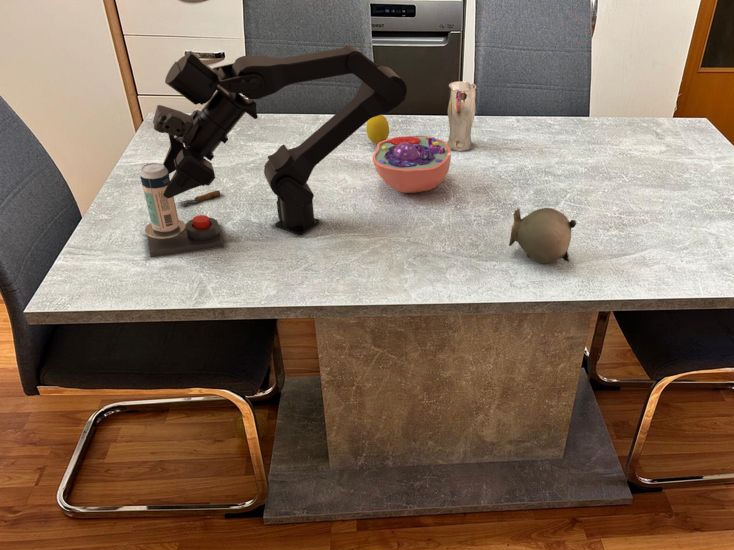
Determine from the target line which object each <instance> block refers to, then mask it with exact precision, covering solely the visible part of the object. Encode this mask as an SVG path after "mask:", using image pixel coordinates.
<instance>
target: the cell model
mask: <svg viewBox="0 0 734 550" xmlns="http://www.w3.org/2000/svg"><path fill="white" fill-rule="evenodd" d="M451 160H452V149H450V148H449V146H448V142H446V141H445V140H443V139H440V138H437V137H434V136H428V135H409V136H406V135H404V136H394V137H391V138H387V139H386V140H384V141H381V142H379V143H378V144H376V150H375V152H374V153H373V154H372V161H373V164H374V169H375V171H376V174H377V175H378V176H379V177H380V178H381V180H382V181H384V183H385V184H386V185H387V186H388V187H390V188H391V189H393V190H395V191H397V192H400V193H402V194H403V193H404V194H413V193H414V194H415V193H422V192H429V191H431V190H434V189H435V188H436V187H438V186H439V185H440V184H441V183H442V182H443V181H444V180H445V179H446V177H447V175H448V173H449V170H450V166H451Z"/></svg>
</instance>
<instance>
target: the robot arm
mask: <svg viewBox="0 0 734 550" xmlns="http://www.w3.org/2000/svg"><path fill="white" fill-rule="evenodd" d="M350 74H351V75H354V76H355V77H357V78H358V79H359V80H361V81H362V82H361V83H360V85H359V87H358V89H357V91H356V94H355V95H354V97H353V98H352V99H351V100H350V101H349V102H348V103H346V105H344V106H343V107H342V108H341V109H340V110H338V112H336V113H335V114H334V115H333V116H332V117H331V118H329V119H327V121H326V122H325V123H323V124H322V125H321V126H320V127H319V128H317V130H316V131H314V132H313V133H312V134H311V135H309V136H308V138H306V139H305V140H304V141H303V142H301V143H300V144H299V145H298V146H295V147H292V148H289V149H288V148H287V146H286V145H285V144H282V145H280V146H279V148H278V149H277V150H276V151H275V152H274V153H272V154H270V155H268V156H267V159H268V160H267V162H266V163H265V165H264V166H263V173H264V178H265V180H266V181H267V183H268V186H269V187H270V190H271V191H272V193H273V194H274V195H276V197H277V198H276V199H277V201H276V208H277V218H278V221H277V222H275V223H274V226H275V228H277V229H282V230H284V231H287V232H290V233H294V234H296V235H303V234H305V232H307V231H309V230H310V229H312V228H313V227H314V226H316V225H318V224H319V223H320V219H319V218H316V217H315V214H314V201H313V200H314V197H315V194H314V193H313V191H312V189H311V187H310V186H309V184H308V182H309V181H308V180H309V178H310V177H311V174H312V173H313V170H314V169H315V167H316V166H317V165H318V164H319V163H321V161H323V160H324V159H325V158H327V157H328V156H329V155H330V154H331V153H332V152H333V151H334V150H336V149H337V148H338V147H340V145H342V143H344V142H345V141H346V140H347V139H349V137H351V136H352V135H353V134H355V132H356V131H358V130H359V129H360V128H361V127H363V125H365V124H367V122H368V120H369V119H371V118H373V117H376V116H379V115H386V114H388V113H390V112H391V111H392V110H394V109H396V108H397V107H400V106H401V105H402V104H403V103H404V102H405V101H406V99H407V92H408V88H407V84H406V82H405V81H404V80H403V79H402V78H401V77H400V76H399V75H398V74H397V73H396V72H394V70H392V68H390V67H388V66H382V65H380V66H379V65H378V64H376V63H375V62H374V61H373V60H371V59H370V58H369V57H368V56H366V55H365V54H364V53H362V52H361V51H360V50H359V49H358V47H356V46H354V45H346V46H344V47H339V48H334V49H328V50H323V51H317V52H310V53H305V54H299V55H293V56H288V57H274V56H273V57H272V56H268V55H267V56H266V55H243V56H239V57H237V58H236V59H235V60H234V62H233V63H232V62H231V63H228V64H224V65H220V66H215V67H210V66H209V65H208V64H206V62H204V61H202V60H201V59H200V58H199V56H198V55H197V54H196V53H194V52H193V51H192V50H189V51H188V52H187V53H186V54H185V55H183V56H181V57H180V58H179V59H178V60H177V61H174V63H173V64H172V65H171V67H170V69H169V70H168V72H167V74H166V76H165V81H164V83H165V84H166V85H167V86H169V87H170V88H171V89H173V90H174V91H176V92H177V93H178V94H180V95H181V96H182V97H184V98H185V99H186V100H188V101H190V102H191V103H192V104H193V105H197V106H198V105H199V104H200V105H201V106H203V105H204V106H203V108H202V109H201V110H199V109H196V110H193V112H192V113H191V114H188V113H185V112H182V111H181V110H177V109H173V108H171V107H168V106H165V105H161V104H157V106H156V109H155V113H154V117H153V119H152V124H153V130H154V131H156V132H158V133H161V134H168V139H169V143H170V145H169V148H168V150H167V152H166V155H165V158H164V160H163V163H162V165H164V166H165V167H166V169H167V170H168V173H169V175H171V174H173V176H172V177H171V178H170V182H169V184H168V186H167V188H166V189H165V191H164V193H163V196H164V197H166V198H171V197H173V196H174V197H176V196H179V195H180V194H183V193H185V192H187V191H191V190H193V189H195V188H198V187H201V186H202V187H205V186H209V187H210V185H211V184H212V183H213V182H214V181H215V179H216V175H215V170H214V167H213V164H212V162H211V161H212V160H213V159H214V158H215V155H214V152H215V151H216V149H217V148H218V147H219V146H220V145H221V143H223V144H226V143H227V142H228V141H229V138H228V135H229V133H230V132H231V131H232V130H233V128H234V127H235V126H236V125H237V124H238V123H239V122H240V120H241V119H242V117H243V116H244V115H245V114H247V115H249V116H250V117H252V119H254V120H257V119H258V118H259V116H258V112H257V106H258V103H257V102H256V100H260V99H263V98H266V97H268V96H271V95H273V94H277V93H278V92H280V91H281V90H282V89H284V88H285V87H288V86H291V85H295V84H301V83H306V82H312V81H317V80H323V79H327V78H333V77H340V76H345V75H350ZM173 172H174V173H173Z"/></svg>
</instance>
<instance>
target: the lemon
mask: <svg viewBox="0 0 734 550" xmlns="http://www.w3.org/2000/svg"><path fill="white" fill-rule="evenodd" d="M365 131H366V135H367V137H368V139H369V140H370V141H371V142H372V143H374V144H375V145H377V144H378V143H379V142H381V141H384V140H387V139H389V135H390V125H389V122H388V119H387V118H386V116H384V114H382V115H379V116H376V117H373V118H371V119H369V120H368V121H367V122H366V128H365Z"/></svg>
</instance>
